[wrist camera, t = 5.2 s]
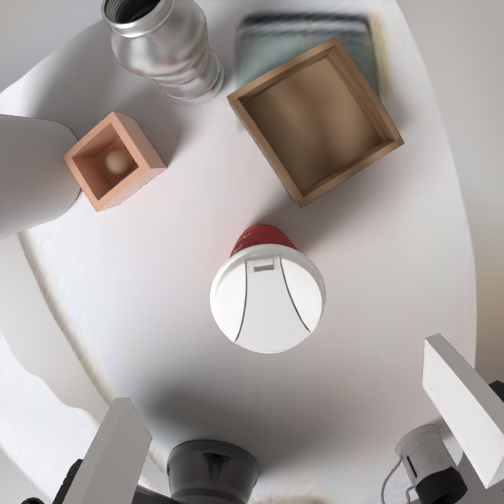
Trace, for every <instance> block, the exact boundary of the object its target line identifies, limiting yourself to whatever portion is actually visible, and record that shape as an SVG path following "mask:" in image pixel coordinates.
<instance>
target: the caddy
mask: <svg viewBox="0 0 504 504" xmlns="http://www.w3.org/2000/svg"><path fill="white" fill-rule="evenodd" d="M227 99H228V101H229V104H230V106H231V108H232V109H233V111H234V112H235V113H236V115H237V116H238V118H239V119H240V121H241V122H242V124H243V125H244V126H245V128H246V129H247V131H248V132H249V134H250V135H251V137H252V138H253V140H254V141H255V143H256V144H257V146H258V147H259V149H260V150H261V152H262V153H263V155H264V156H265V158H266V159H267V161H268V162H269V164H270V165H271V167H272V168H273V170H274V171H275V173H276V174H277V176H278V177H279V179H280V180H281V182H282V184H283V185H284V187H285V188H286V190H287V191H288V193H289V195H290V196H291V198H292V199H293V201H294V202H295V203H296V204H297V205H298V206H299V207H300V208H302V207H303V206H305V205H307V204H308V203H310V202H311V201H313V200H315V199H316V198H318V197H319V196H321V195H322V194H324V193H326V192H327V191H329V190H330V189H332V188H334V187H335V186H337V185H338V184H340V183H342V182H343V181H345V180H346V179H348V178H350V177H351V176H353V175H354V174H356V173H358V172H359V171H361V170H362V169H364V168H366V167H367V166H369V165H370V164H372V163H374V162H375V161H377V160H378V159H380V158H382V157H383V156H385V155H387V154H388V153H390V152H391V151H393V150H395V149H396V148H398V147H399V146H401V145H403V144H404V141H403V139H402V137H401V136H400V134H399V132H398V130H397V128H396V127H395V125H394V123H393V121H392V120H391V118H390V116H389V115H388V113H387V111H386V109H385V108H384V106H383V104H382V103H381V101H380V100H379V98H378V96H377V95H376V93H375V92H374V90H373V88H372V87H371V85H370V84H369V82H368V81H367V79H366V78H365V76H364V75H363V73H362V72H361V70H360V69H359V67H358V66H357V64H356V63H355V62H354V60H353V59H352V57H351V56H350V55H349V53H348V52H347V50H346V49H345V48H344V46H343V45H342V44H341V42H340V41H339V40H338V38H337V37H335V38H333V39H331V40H328V41H326V42H324V43H322V44H320V45H318V46H316V47H314V48H312V49H310V50H308V51H306V52H304V53H302V54H300V55H298V56H296V57H294V58H292V59H291V60H289V61H287V62H285V63H283V64H281V65H279V66H278V67H276V68H274V69H272V70H270V71H269V72H267V73H265V74H263V75H262V76H260V77H258V78H256V79H255V80H253V81H251V82H250V83H248V84H246V85H245V86H243V87H241V88H240V89H238V90H236V91H235V92H233V93H231V94H230V95H228V96H227Z"/></svg>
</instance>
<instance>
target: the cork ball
mask: <svg viewBox="0 0 504 504" xmlns="http://www.w3.org/2000/svg"><path fill="white" fill-rule="evenodd" d="M132 163H133V158H132V155H131V153H130V152H129V151H128V150H127V149H125V148H115V149H113V150H111V151H110V152H109V153H108V155H107V157H106V161H105V164H106V168H107V170H108V171H109V172H110V173H111V174H113V175H117V176H120V175H124V174H126V173H127V172H128V171H129V170H130V169H131V167H132Z"/></svg>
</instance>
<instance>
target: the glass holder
mask: <svg viewBox="0 0 504 504" xmlns="http://www.w3.org/2000/svg"><path fill="white" fill-rule="evenodd" d="M396 454H397V455H398V456H399V457H400V460H399V462H398V463H397V465H396V466H395V467H394V469H393V470H392V471H391V472H390V474H389V475H388V476H387V478H386V479H385V481H384V483H383V486H382V491H381V501H382V504H385V503H384V498H383V492H384V488H385V485H386V482H387V481H388V479H389V478H390V476H391V475H392V473H393V472H394V471H395V470H396V469H397V467H398V466H399V465H400V463H401V461H402V462H403V464H404V466H405V468H406V471H407V473H408V475H409V478H410V480H411V482H412V485H413V486H411V487H409V488H408V489H407V490H406V496H407V501H408V502H407V504H410V496H409V493H408V491H409V490H411V489H413V488H414V490H415V491H416V492H417V494H418V496H419V499H420V501H421V504H455V503H456V502H457V501H458V500H460V499H461V498H462V497H463V496H464V495H465V493H466V492H467V486H466V485H465V483H464V481H463V477H462V475H461V473H460V471H459V469H458V468H457V466H456V464H455V462H454V461H453V459H452V457H451V455H450V454H449V452H448V450H447V448H446V447H445V445H444V443H443V442H442V440H441V438H440V436H439V431H438V428H437V427H436V426H434V425H424V426H421V427H418V428H416V429H414V430H412V431H411V432H409V433H408V434H406V435H405V436H404V437H403V438H402V439H401V440H400V441H399V443H398V444H397V446H396Z"/></svg>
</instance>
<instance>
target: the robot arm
mask: <svg viewBox="0 0 504 504" xmlns="http://www.w3.org/2000/svg"><path fill="white" fill-rule="evenodd" d="M422 387H423V388H424V390H425V391H426V393H427V394H428V396H429V397H430V399H431V400H432V402H433V403H434V405H435V406H436V408H437V409H438V411H439V413H440V414H441V416H442V417H443V419H444V420H445V422H446V423H447V425H448V427H449V428H450V430H451V431H452V433H453V434H454V436H455V438H456V439H457V441H458V442H459V444H460V446H461V447H462V449H463V451H464V452H465V454H466V455H467V457H468V459H469V460H470V462H471V464H472V465H473V467H474V469H475V471H476V472H477V474H478V476H479V477H480V479H481V481H482V482H483V484H484V486H485V488H486V489H487V488H489V487H490V486H492V485H494V484H495V483H497V482H499V481H500V480H502V479H503V478H504V383H502V382H500V381H498V380H497V381H495V382H493V383H491V384H489V385H488V384H487V383H486V382H485V381H484V380H483V379H482V378H481V377H480V375H479V374H478V373H477V372H476V371H475V370H474V369H473V368H472V367H471V366H470V365H469V363H468V362H467V361H466V360H465V359H464V358H463V357H462V356H461V355H460V354H459V353H458V352H457V351H456V350H455V349H454V348H453V346H452V345H451V344H450V343H449V342H448V341H447V340H446V339H445V338H444V337H443V336H442V335H441V334H440V333H439V334H436V335H434V336H431V337H428V338H425V350H424V369H423V382H422ZM151 440H152V437H151V435H150V434H149V432H148V430H147V429H146V427H145V425H144V424H143V422H142V420H141V419H140V417H139V415H138V413H137V412H136V410H135V408H134V406H133V404H132V403H131V401H130V399H129V398H115V399H114V401H113V403H112V405H111V407H110V409H109V411H108V413H107V415H106V416H105V418H104V420H103V422H102V424H101V426H100V428H99V430H98V432H97V434H96V436H95V438H94V440H93V441H92V443H91V445H90V447H89V449H88V451H87V453H86V455H85V457H84V459H78V460H77V461H76V462H75V463H74V464H73V465H72V466H71V467H70V469H69V471H68V473H67V475H66V476H67V477H66V478H65V479H64V481H63V485H61V487H60V489H59V491H58V493H57V495H56V497H55V499H54V501H53V503H52V504H247V502H248V500H249V498H250V495H251V493H252V490H253V488H254V486H255V484H256V482H257V479H258V466H257V463H256V461H255V459H254V458H253V457H252V456H251V455H250V454H249V453H248V452H246V451H245V450H243V449H241V448H239V447H237V446H234V445H231V444H228V443H224V442H219V441H211V440H198V441H191V442H186V443H183V444H181V445H179V446H177V447H175V448H174V449H173V450H172V451H171V453H170V455H169V458H168V462H167V474H168V476H169V486H170V491H171V498H169V497H166V496H164V495H161V494H159V493H156V492H154V491H151V490H149V489H147V488H145V487H142V486H140V485H138V484H137V483H138V480H139V477H140V474H141V470H142V468H143V464H144V462H145V458H146V455H147V452H148V449H149V446H150V443H151ZM503 491H504V490H503ZM21 504H44V503H43V502H42V501H41V500H40V499H38V498H28V499H26V500H25V501H23V502H22V503H21Z"/></svg>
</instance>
